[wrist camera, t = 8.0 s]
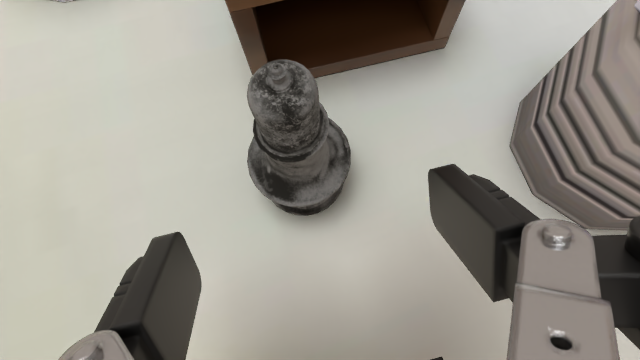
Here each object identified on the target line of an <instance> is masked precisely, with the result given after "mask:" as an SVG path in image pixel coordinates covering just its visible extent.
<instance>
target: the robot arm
mask: <svg viewBox="0 0 640 360" xmlns="http://www.w3.org/2000/svg"><path fill="white" fill-rule="evenodd" d="M428 182H429V197H430V211H431V216H432V220H433V223H434V225H435V227H436V229H437V230H438V231H439V233H440V234H441V235H442V237H443V238H444V239H445V240H446V242H447V243H448V244H449V246H450V247H451V248H452V249H453V251H454V252H455V253H456V255H457V256H458V257H459V258H460V260H461V261H462V262H463V264H464V265H465V266H466V267H467V269H468V270H469V271H470V273H471V274H472V275H473V276H474V278H475V279H476V280H477V282H478V283H479V284H480V285H481V287H482V288H483V289H484V291H485V292H486V293H487V294H488V296H489V297H490V298H491V300H492V301H493V302H496V301H500V300H504V299H507V298H509V299H510V300H511V301H512V302H513V309H512V318H511V327H510V336H509V344H508V353H507V360H620V358H619V352H618V346H617V339H616V333H615V328H618V329H619V330H620V331H621V332H622V333H623V334H624V335H625V336H626V337H627V338H628V339H629V340H630V341H631V342H632V343H634V344H635V345H636V346H637V347H638V348H639V349H640V216H638V217H635V218H634V219H632V220H631V222H630V224H629V228H628V233H627V235H603V236H591V234H590V233H589V232H588V231H586V230H585V229H584V228H582V227H580V226H578V225H576V224H574V223H571V222H567V221H563V220H557V219H539V218H538V217H537V216H535V215H534V214H533V213H531V212H530V211H529V210H528V209H526V208H525V207H524V206H522V205H521V204H520V203H518V202H517V201H516V200H515V199H513V198H512V197H509V195H508V194H507V193H505V192H504V191H503V190H500V188H499V187H498V186H496V185H495V184H494V183H492V182H491V181H490V180H488V179H485V178H482V177H479V176H477V175H474V174H473V175H469V176H468V175H467V174H466V173H465V172H463V171H462V170H461V169H460V168H459V167H457V166H456V165H455V164H450V165H446V166H442V167H438V168H434V169H430V170H429V173H428ZM200 292H201V276H200V272H199V270H198V267H197V265H196V263H195V261H194V259H193V256H192V254H191V252H190V250H189V248H188V245H187V243H186V241H185V239H184V237H183V235H182V234H181V233H180V232H175V233H171V234H167V235H163V236H159V237H155V238H153V239H152V241H151V243H150V245H149V247H148V249H147V251H146V253H145V255H144V257H140V258H138V259H137V260H136V261H135V262H134V263H133V264H132V265H131V266H130V267H129V269H128V270H127V271H126V272H125V274H124V276H123V278H122V280H121V282H120V286H118V288H117V290H116V291H115V293H114V297H112V299H111V301H110V303H109V305H108V307H107V309H106V311H105V312H104V314H103V316H102V318H101V320H100V322H99V324H98V326H97V328H96V330H95V332H94V333H92V334H90V335H88V336H86V337H84V338H82V339H81V340H79V341H78V342H76V343H75V344H74V345H72V346H71V347H70V348H69V349H68V350H67V351H66V352H65V353H64V354H63V355H62V356H61V357H60V358H59V360H185V359H186V354H187V350H188V346H189V341H190V337H191V332H192V328H193V323H194V319H195V314H196V310H197V305H198V301H199V297H200ZM431 360H443V358H442V357H439V358H435V359H431Z"/></svg>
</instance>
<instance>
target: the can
mask: <svg viewBox="0 0 640 360" xmlns="http://www.w3.org/2000/svg"><path fill="white" fill-rule="evenodd" d="M510 148H511V150H512V152H513V154H514V156H515V158H516V160H517V162H518V164H519V166H520V169H521V171H522V173H523V175H524V177H525V179H526V181H527V183H528V185H529V187H530V189H531V191H532V193H533V195H534V196H536V197H537V198H539V199H541V200H542V201H544V202H545V203H547V204H548V205H550V206H551V207H553V208H554V209H556V210H557V211H559V212H560V213H562V214H564V215H565V216H567V217H568V218H570V219H571V220H573V221H574V222H576V223H577V224H579V225H580V226H582V227H584V228H587V229H613V230H628V228H629V224H630V222H631V220H632V219H634V218H635V217H638V216H640V0H617V1H616V2H615V3H614V4H613V5H612V6H611V7H610V8H609V9H608V10H607V11H606V13H605V14H604V15H603V16H602V17H601V18H600V19H599V20H598V21H597V22H596V23H595V24H594V25H593V26H592V27H591V28H590V29H589V30H588V31H587V33H586V34H585V35H584V36H583V37H582V38H581V39H580V40H579V41H578V42H577V43H576V44H575V45H574V46H573V47H572V48H571V49H570V50H569V51H568V53H567V54H566V55H565V56H564V57H563V58H562V59H561V60H560V61H559V62H558V63H557V64H556V65H555V66H554V67H553V68H552V69H551V70H550V71H549V73H548V74H547V75H546V76H545V77H544V78H543V79H542V80H541V81H540V82H539V83H538V84H537V85H536V86H535V87H534V88H533V89H532V90H531V91H530V93H529V94H528V95H527V96H526V97H525V98H524V99H523V100H522V101H521V102H520V105H519V109H518V113H517V118H516V122H515V126H514V130H513V134H512V138H511V143H510Z"/></svg>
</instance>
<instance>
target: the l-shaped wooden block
mask: <svg viewBox="0 0 640 360" xmlns="http://www.w3.org/2000/svg"><path fill="white" fill-rule="evenodd" d="M225 2H226V4H227V7H228V10H229V12H230V15H231V18H232V21H233V23H234V26H235V29H236V31H237V34H238V37H239V40H240V42H241V45H242V48H243V50H244V53H245V56H246V58H247V61H248V64H249V66H250V69H251V72H252V75H254V73H255V72H256V71H257V70H258V69H259V68H261V67H262V66H263V65H264V64H267V63H269V62H271V61H274V60H291V61H295V62H298V63H300V64H302V65H303V66H305V67H306V68H307V69H308V70H309V71H310V72H311V74H312V76H313V77H314V78H316V77H320V76H325V75H329V74H333V73H338V72H342V71H346V70H350V69H355V68H359V67H363V66H368V65H372V64H376V63H380V62H385V61H389V60H393V59H398V58H402V57H406V56H410V55H415V54H419V53H423V52H427V51H432V50H436V49H440V48H444V47H445V46H446V43H447V41H448V39H449V36H450V34H451V32H452V30H453V27H454V25H455V23H456V21H457V18H458V16H459V14H460V11H461V9H462V7H463V5H464V2H465V0H225Z"/></svg>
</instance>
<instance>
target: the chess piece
mask: <svg viewBox="0 0 640 360" xmlns="http://www.w3.org/2000/svg"><path fill="white" fill-rule="evenodd" d="M247 98H248V103H249V107H250V109H251V111H252V114H253V116H254V118H255V119H254V124H253V133H254V137H253V139H252V142H251V145H250V147H249V151H248V160H247V163H248V168H249V174H250V176H251V178H252V180H253V182H254V184H255V186H256V187H257V188H258V189H259V190H260V191H261V193H262V194H263V195H264V196H266V197H267V198H269V199H270V200H272V201H273V202H274V203H275V204H276V206H277V207H279V208H281V209H282V210H284V211H285V212H288V213H291V214H294V215H311V214H316V213H319V212H321V211H323V210H325V209H326V208H328V207H329V206H330V205H331V204H332V203H333V202H334V201H335V200H336V199H337V197H338V196H339V194H340V192H341V190H342V186H343V183H344V180H345V179H346V177H347V174H348V171H349V167H350V160H351V151H350V147H349V144H348V140H347V138H346V136H345V134H344V133H343V131H342V130H341V128H340V127H339V126H338V125H337V124H336V123H334V122H333V121H332V120H331V119H329V118H328V116H327V112H326V111H325V109H324V107H323V106H322V104H321V103H320V102H319V95H318V88H317V84H316V81H315V79H314V77H313V76H312V74H311V72H310V71H309V70H308V69H307V68H306V67H305V66H303V65H302V64H300V63H298V62H295V61H291V60H274V61H271V62H269V63H267V64H264V65H263V66H262V67H261V68H259V69H258V70H257V71H256V72H255V73H254V75H253V76H252V77H251V80H250V82H249V84H248V91H247Z"/></svg>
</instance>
